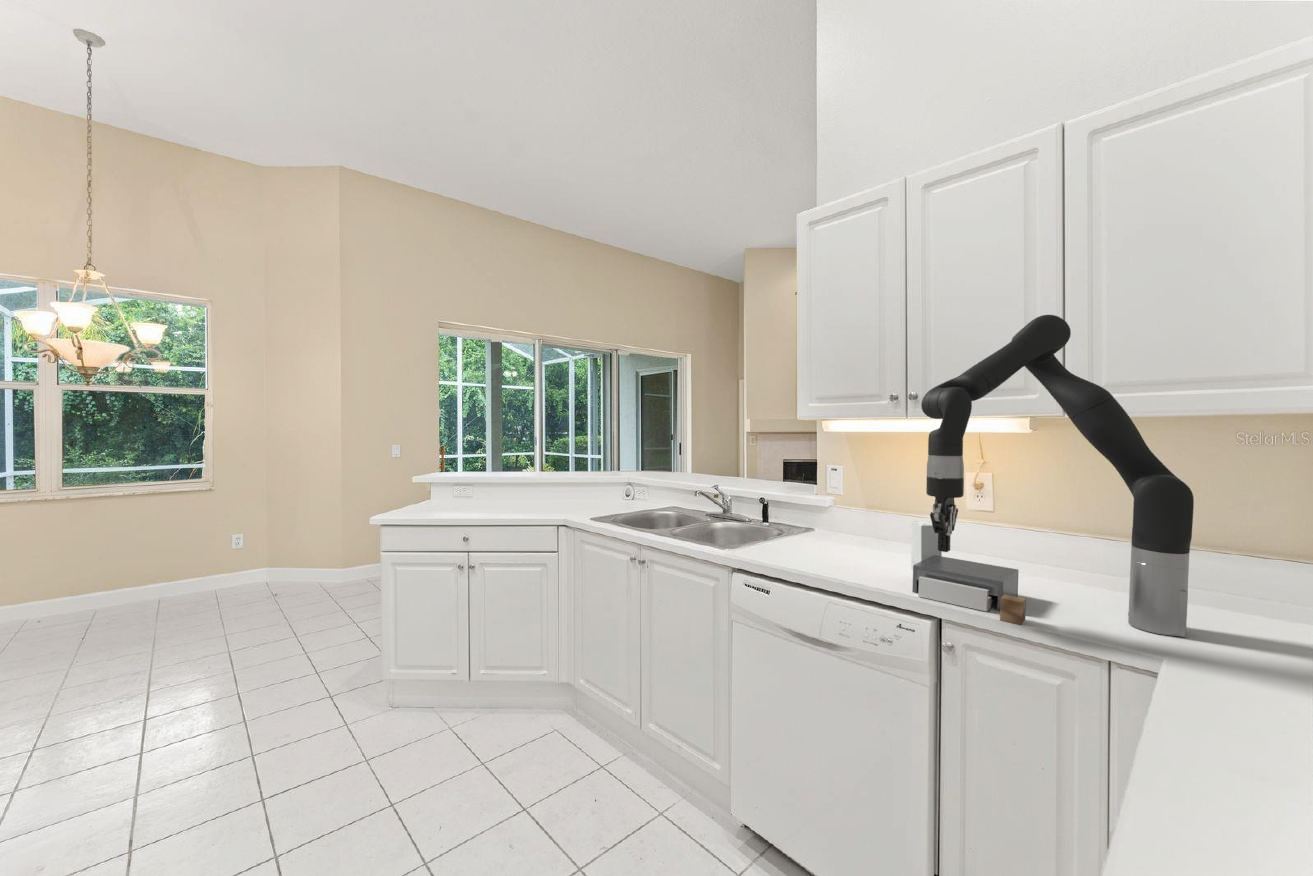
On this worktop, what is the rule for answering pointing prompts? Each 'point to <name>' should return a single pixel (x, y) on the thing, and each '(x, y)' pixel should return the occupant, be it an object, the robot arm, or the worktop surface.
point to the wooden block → (1012, 609)
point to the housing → (968, 575)
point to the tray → (955, 593)
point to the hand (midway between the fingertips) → (944, 551)
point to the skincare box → (923, 541)
